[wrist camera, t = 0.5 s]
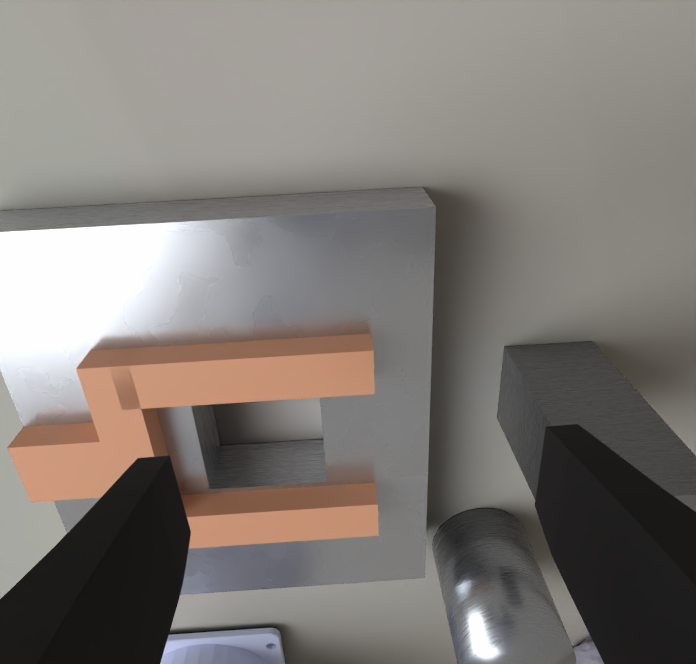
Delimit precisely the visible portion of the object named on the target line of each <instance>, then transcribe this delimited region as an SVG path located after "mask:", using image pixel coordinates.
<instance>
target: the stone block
mask: <svg viewBox="0 0 696 664" xmlns="http://www.w3.org/2000/svg"><path fill="white" fill-rule="evenodd" d="M573 650H574V652H575V655H576V661H577V662H576V664H604V663H603V661H602V659H601V656H600V654H599V652H598V650H597V648H596V646H595V644H594V642H593V640H592V638H591V636H589V637H587V638H586V640H585V641H584V642H583V643H582V644H581V645H579V646H576V647H574V648H573Z"/></svg>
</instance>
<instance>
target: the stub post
mask: <svg viewBox="0 0 696 664" xmlns="http://www.w3.org/2000/svg"><path fill="white" fill-rule="evenodd" d="M432 549H433V554H434V558H435V563H436V567H437V572H438V576H439V581H440V586H441V590H442V595H443V599H444V604H445V608H446V613H447V617H448V622H449V627H450V631H451V636H452V640H453V645H454V649H455V654H456V658H457V663H458V664H576V662H577V661H576V655H575V652H574V650H573V647H572V645H571V642H570V640H569V638H568V635H567V633H566V630H565V628H564V626H563V623H562V621H561V618H560V616H559V614H558V611H557V609H556V606H555V604H554V602H553V599H552V597H551V594H550V592H549V589H548V587H547V585H546V582H545V580H544V577H543V575H542V573H541V570H540V568H539V565H538V563H537V561H536V558H535V556H534V553H533V551H532V549H531V546H530V544H529V541H528V539H527V536H526V534H525V532H524V529H523V527H522V525H521V523H520V522H519V521H518V520H517V519H516V518H515V517H514V516H512V515H511V514H509V513H507V512H505V511H501V510H497V509H489V508H481V509H474V510H469V511H466V512H463V513H460V514H458V515H456V516H454V517H452V518H451V519H449V520H448V521H446V522H445V523H444V524H443V525H442V526H441V527H440V528H439V529H438V531H437V532H436V534H435V536H434V539H433V544H432Z"/></svg>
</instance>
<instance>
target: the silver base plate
mask: <svg viewBox="0 0 696 664" xmlns="http://www.w3.org/2000/svg"><path fill="white" fill-rule="evenodd" d="M435 230H436V206H435V205H434V203H433V202H432V200H431V199H430V198H429V196H428V195H427V193H426V192H425V190H424V189H423V188H422V187H410V188H393V189H375V190H358V191H340V192H323V193H305V194H287V195H270V196H252V197H235V198H217V199H200V200H182V201H165V202H147V203H130V204H112V205H94V206H77V207H59V208H42V209H24V210H7V211H0V370H1V373H2V375H3V378H4V380H5V383H6V385H7V388H8V390H9V392H10V395H11V397H12V400H13V402H14V405H15V407H16V409H17V412H18V414H19V417H20V419H21V422H22V424H23V427H29V426H44V425H60V424H76V423H92V422H93V419H92V416H91V413H90V410H89V407H88V404H87V401H86V398H85V395H84V392H83V389H82V386H81V383H80V380H79V377H78V374H77V371H76V368H77V367H78V366H79V364H80V363H81V362H82V360H83V359H84V358H85V356H86V355H87V354H88V352H89V351H95V350H111V349H127V348H143V347H160V346H176V345H192V344H209V343H225V342H241V341H257V340H274V339H290V338H306V337H323V336H339V335H355V334H371V339H372V345H373V350H374V385H375V394H368V395H353V396H337V397H321V398H320V404H321V415H322V427H323V439H317V440H302V441H286V442H271V443H255V444H240V445H224V446H221V445H220V440H219V435H218V430H217V425H216V420H215V415H214V410H213V405H212V404H210V405H195V406H179V407H163V408H156V411H157V415H158V419H159V423H160V427H161V430H162V434H163V438H164V442H165V446H166V450H167V453H168V456H170V458H171V462H172V465H173V469H174V473H175V476H176V480H177V483H178V487H179V491H180V494H181V495H194V494H209V493H225V492H240V491H255V490H270V489H285V488H300V487H316V486H331V485H346V484H361V483H375V486H376V494H377V502H378V530H379V536H367V537H352V538H337V539H323V540H308V541H293V542H278V543H263V544H249V545H234V546H219V547H204V548H189V549H188V556H187V562H186V568H185V574H184V580H183V585H182V589H181V593H180V595H184V594H199V593H213V592H228V591H242V590H257V589H271V588H286V587H300V586H315V585H329V584H344V583H358V582H373V581H387V580H402V579H416V578H425V556H426V523H427V491H428V458H429V426H430V393H431V360H432V328H433V295H434V263H435ZM99 499H100V498H85V499H70V500H55V501H54V502H55V505H56V507H57V510H58V512H59V514H60V517H61V519H62V522H63V524H64V527H65V529H66V531H67V533H68V532H69V531H70V530H71V529H72V528H73V527H74V526H75V525H76V524H77V523H78V522H79V521H80V520H81V519H82V518H83V516H84V515H85V514H86V513H87V512H88V511H89V510H90V509H91V508H92V507H93V506H94V505H95V504H96V502H97V501H98V500H99Z"/></svg>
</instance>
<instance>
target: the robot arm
mask: <svg viewBox="0 0 696 664" xmlns="http://www.w3.org/2000/svg"><path fill="white" fill-rule="evenodd" d="M535 507H536V510H537V513H538V516H539V519H540V522H541V525H542V528H543V531H544V534H545V537H546V540H547V543H548V545H549V548H550V551H551V554H552V556H553V559H554V561H555V563H556V565H557V567H558V569H559V571H560V573H561V576H562V578H563V580H564V582H565V584H566V586H567V588H568V590H569V592H570V595H571V597H572V599H573V601H574V603H575V605H576V607H577V609H578V611H579V613H580V615H581V617H582V619H583V621H584V623H585V625H586V628H587V630H588V632H589V634H590V636H591V638H592V640H593V642H594V644H595V646H596V648H597V650H598V652H599V654H600V656H601V659H602V661H603V663H604V664H696V512H695V511H694V510H692V509H691V508H689V507H688V506H687V505H685V504H684V503H682V502H681V501H680V500H678V499H677V498H675V497H674V496H673V495H671V494H670V493H668V492H667V491H666V490H664V489H663V488H662V487H660V486H659V485H658V484H656V483H655V482H653V481H652V480H651V479H649V478H648V477H647V476H645V475H644V474H643V473H641V472H640V471H639V470H637V469H636V468H635V467H634V466H632V465H631V464H630V463H628V462H627V461H626V460H624V459H623V458H622V457H620V456H619V455H618V454H617V453H615V452H614V451H613V450H611V449H610V448H609V447H607V446H606V445H605V444H604V443H602V442H601V441H600V440H598V439H597V438H596V437H594V436H593V435H592V434H590V433H589V432H588V431H586V430H585V429H584V428H582V427H581V426H579V425H578V424H572V425H559V426H546V428H545V435H544V443H543V450H542V457H541V465H540V472H539V479H538V487H537V494H536V501H535ZM190 536H191V530H190V527H189V523H188V519H187V516H186V512H185V509H184V505H183V501H182V498H181V494H180V491H179V487H178V483H177V480H176V476H175V473H174V469H173V465H172V462H171V458H170V456H158V457H145V458H137V459H136V461H135V462H134V463H133V464H132V465H131V466H130V467H129V468H128V469H127V470H126V471H125V472H124V473H123V474H122V475H121V476H120V478H119V479H118V480H117V481H116V482H115V483H114V484H113V485H112V486H111V487H110V488H109V489H108V491H107V492H106V493H105V494H104V495H103V496H102V497H101V498H100V499H99V500H98V501H97V502H96V504H95V505H94V506H93V507H92V508H91V509H90V510H89V511H88V512H87V513H86V514H85V515H84V516H83V518H82V519H81V520H80V521H79V522H78V523H77V524H76V525H75V526H74V527H73V528H72V529H71V530H70V531H69V532H68V533H67V534H66V535H65V536H64V537H63V538H62V540H61V541H60V542H59V543H58V544H57V545H56V546H55V547H54V548H53V549H52V550H51V551H50V552H49V553H48V554H47V555H46V556H45V557H44V558H43V559H42V560H40V561H39V562H38V563H37V564H36V565H35V566H34V567H33V568H32V569H31V570H30V571H29V572H28V573H27V574H26V575H25V576H24V577H23V578H22V579H21V580H20V581H19V582H18V583H17V584H16V585H15V586H14V587H13V588H12V589H11V590H10V591H9V592H8V593H7V594H5V595H4V596H3V597H2V598H1V599H0V664H285V658H284V653H283V647H282V641H281V635H280V632H279V631H278V630H277V629H275V628H257V629H243V630H229V631H214V632H200V633H186V634H172V635H169V632H170V628H171V625H172V621H173V618H174V614H175V611H176V607H177V603H178V600H179V596H180V593H181V589H182V585H183V580H184V574H185V568H186V562H187V556H188V549H189V543H190Z"/></svg>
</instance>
